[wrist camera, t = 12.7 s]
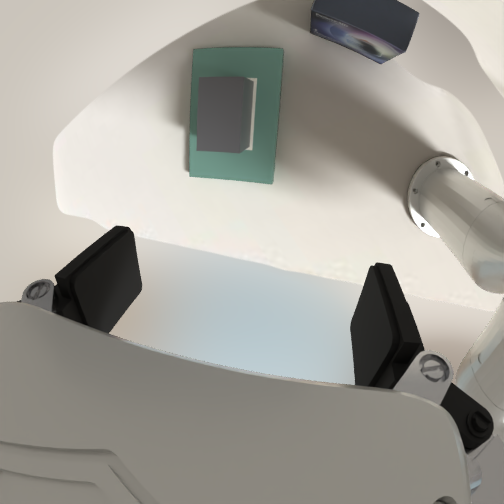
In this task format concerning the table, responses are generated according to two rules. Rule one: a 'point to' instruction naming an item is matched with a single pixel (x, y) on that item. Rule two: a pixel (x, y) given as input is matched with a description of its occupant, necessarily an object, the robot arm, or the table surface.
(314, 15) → the small box
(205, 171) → the board
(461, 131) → the table surface
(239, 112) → the block
